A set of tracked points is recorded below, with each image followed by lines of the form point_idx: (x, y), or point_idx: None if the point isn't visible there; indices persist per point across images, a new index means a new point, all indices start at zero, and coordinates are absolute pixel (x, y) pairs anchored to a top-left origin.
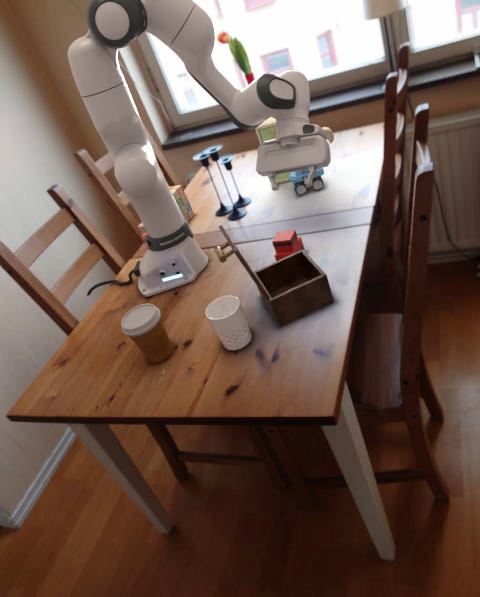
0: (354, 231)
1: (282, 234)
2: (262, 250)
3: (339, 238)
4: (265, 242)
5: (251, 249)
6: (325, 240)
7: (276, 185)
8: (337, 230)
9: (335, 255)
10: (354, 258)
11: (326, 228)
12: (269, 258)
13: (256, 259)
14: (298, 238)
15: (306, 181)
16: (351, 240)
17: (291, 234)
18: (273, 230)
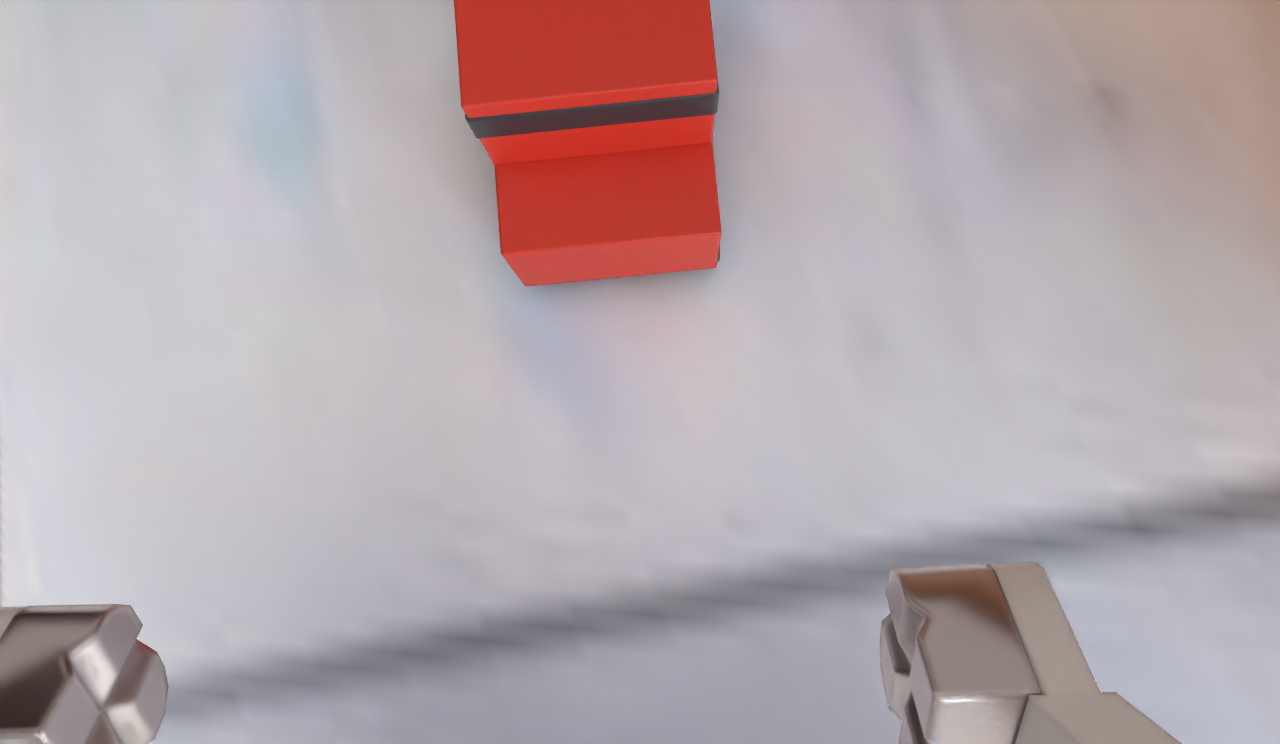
0: None
1: (611, 14)
2: (1039, 316)
3: (233, 493)
4: (1080, 468)
5: (1194, 339)
6: (371, 466)
7: (918, 636)
8: (292, 645)
9: (201, 215)
10: (18, 169)
11: (428, 697)
12: (882, 175)
13: (1030, 159)
14: (515, 214)
15: (29, 651)
16: (104, 451)
17: (476, 5)
18: None
